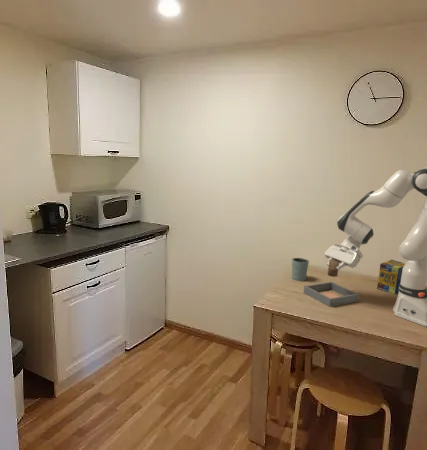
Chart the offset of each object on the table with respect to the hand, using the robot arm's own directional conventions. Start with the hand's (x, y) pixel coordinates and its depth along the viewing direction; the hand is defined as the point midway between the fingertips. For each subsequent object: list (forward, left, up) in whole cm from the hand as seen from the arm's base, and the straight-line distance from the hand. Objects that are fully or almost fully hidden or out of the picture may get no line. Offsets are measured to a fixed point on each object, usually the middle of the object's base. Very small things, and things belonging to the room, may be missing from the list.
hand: (332, 267), depth 195 cm
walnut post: (0, -1, -4) cm, 4 cm away
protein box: (-3, -46, -17) cm, 49 cm away
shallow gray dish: (0, -1, -17) cm, 17 cm away
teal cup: (+30, -4, -17) cm, 35 cm away
